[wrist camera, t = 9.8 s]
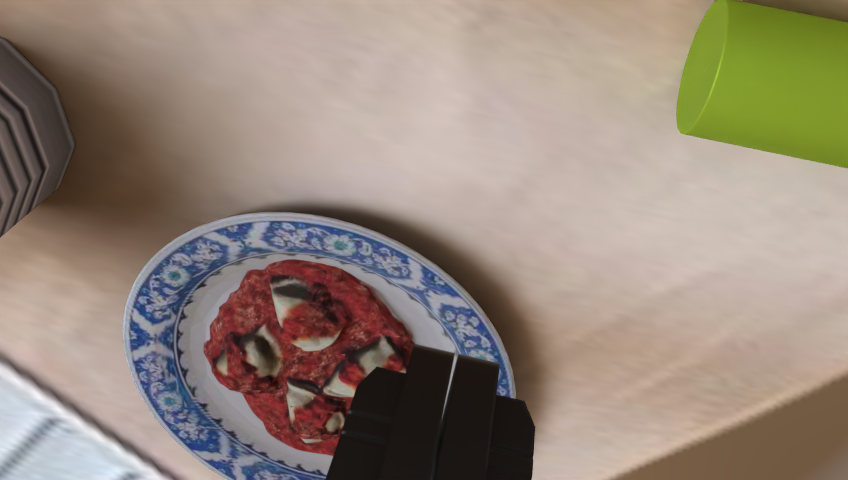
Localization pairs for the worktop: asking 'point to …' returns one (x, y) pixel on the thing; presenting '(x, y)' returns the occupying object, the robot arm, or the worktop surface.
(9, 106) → the can
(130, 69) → the worktop surface
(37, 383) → the worktop surface
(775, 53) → the soap dispenser
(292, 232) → the ceramic plate
